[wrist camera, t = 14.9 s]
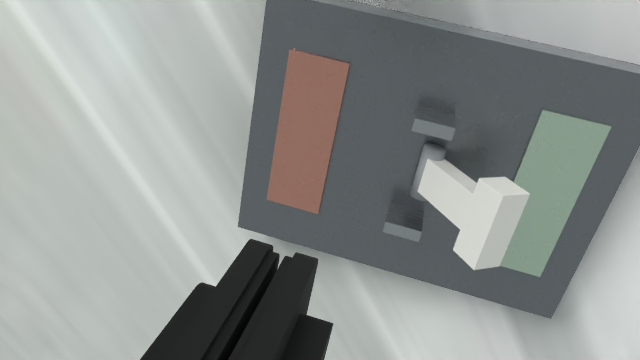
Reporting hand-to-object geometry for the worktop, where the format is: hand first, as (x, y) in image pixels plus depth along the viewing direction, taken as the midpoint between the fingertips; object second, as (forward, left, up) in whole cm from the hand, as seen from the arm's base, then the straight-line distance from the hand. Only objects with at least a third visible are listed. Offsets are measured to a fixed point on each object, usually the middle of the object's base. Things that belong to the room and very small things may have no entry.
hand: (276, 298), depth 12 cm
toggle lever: (+8, +4, -30) cm, 31 cm away
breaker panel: (+8, +4, -35) cm, 36 cm away
